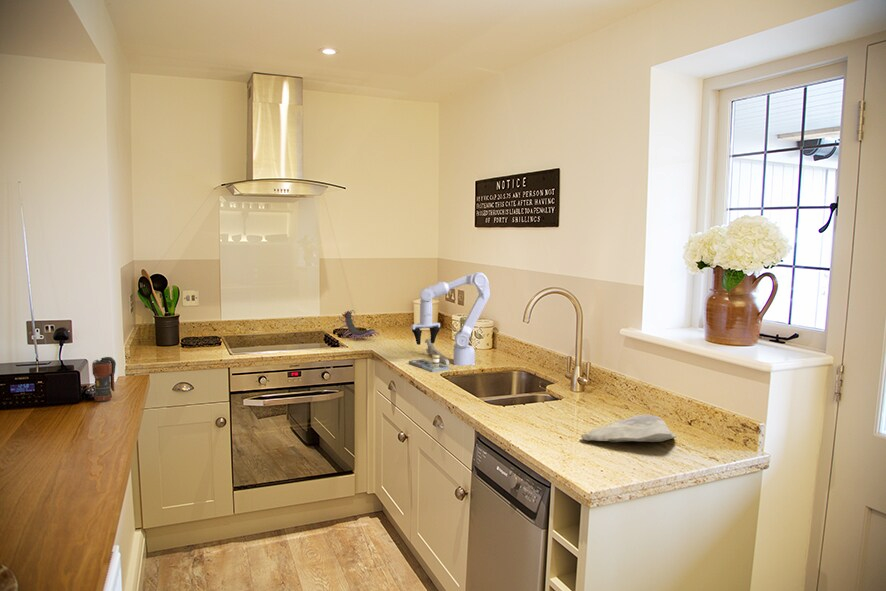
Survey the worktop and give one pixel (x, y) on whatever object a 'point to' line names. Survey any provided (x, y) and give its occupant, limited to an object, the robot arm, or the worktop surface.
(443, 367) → the parts tray
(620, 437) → the decorative stone
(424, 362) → the fuse block
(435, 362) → the cylinder
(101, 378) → the grenade
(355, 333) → the toy
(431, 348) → the wrench
